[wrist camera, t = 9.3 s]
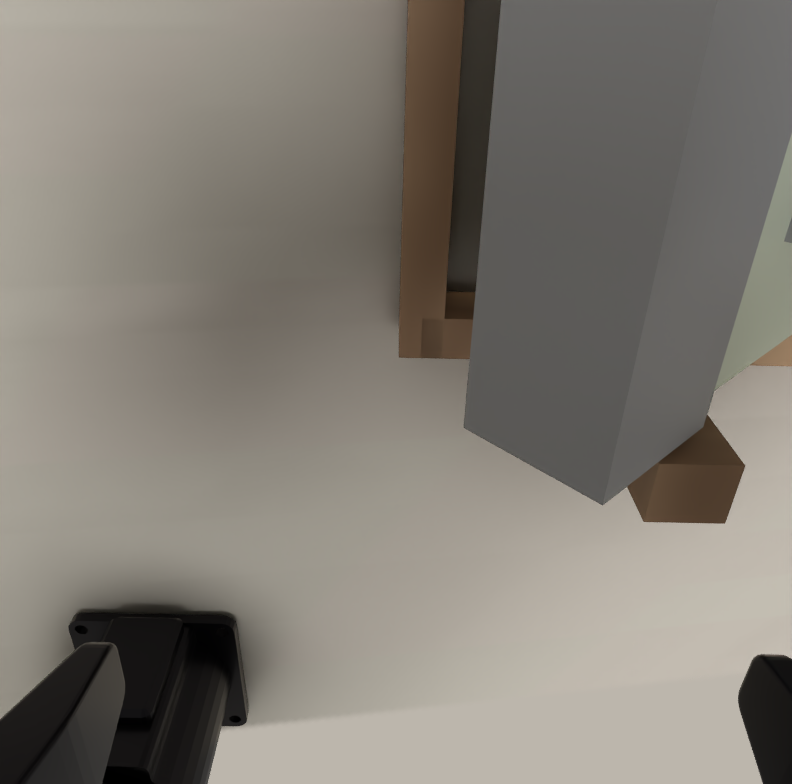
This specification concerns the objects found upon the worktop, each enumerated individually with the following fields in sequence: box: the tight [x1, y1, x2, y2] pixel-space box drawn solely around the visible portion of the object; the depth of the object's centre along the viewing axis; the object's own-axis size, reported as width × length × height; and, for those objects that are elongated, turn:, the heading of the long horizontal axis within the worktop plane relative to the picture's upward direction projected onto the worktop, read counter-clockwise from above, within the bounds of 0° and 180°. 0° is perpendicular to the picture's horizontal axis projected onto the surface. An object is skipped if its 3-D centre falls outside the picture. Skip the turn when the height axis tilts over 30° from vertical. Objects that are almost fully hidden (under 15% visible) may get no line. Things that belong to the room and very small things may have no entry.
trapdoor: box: [464, 0, 792, 505], centre depth 13 cm, size 12×11×3 cm
